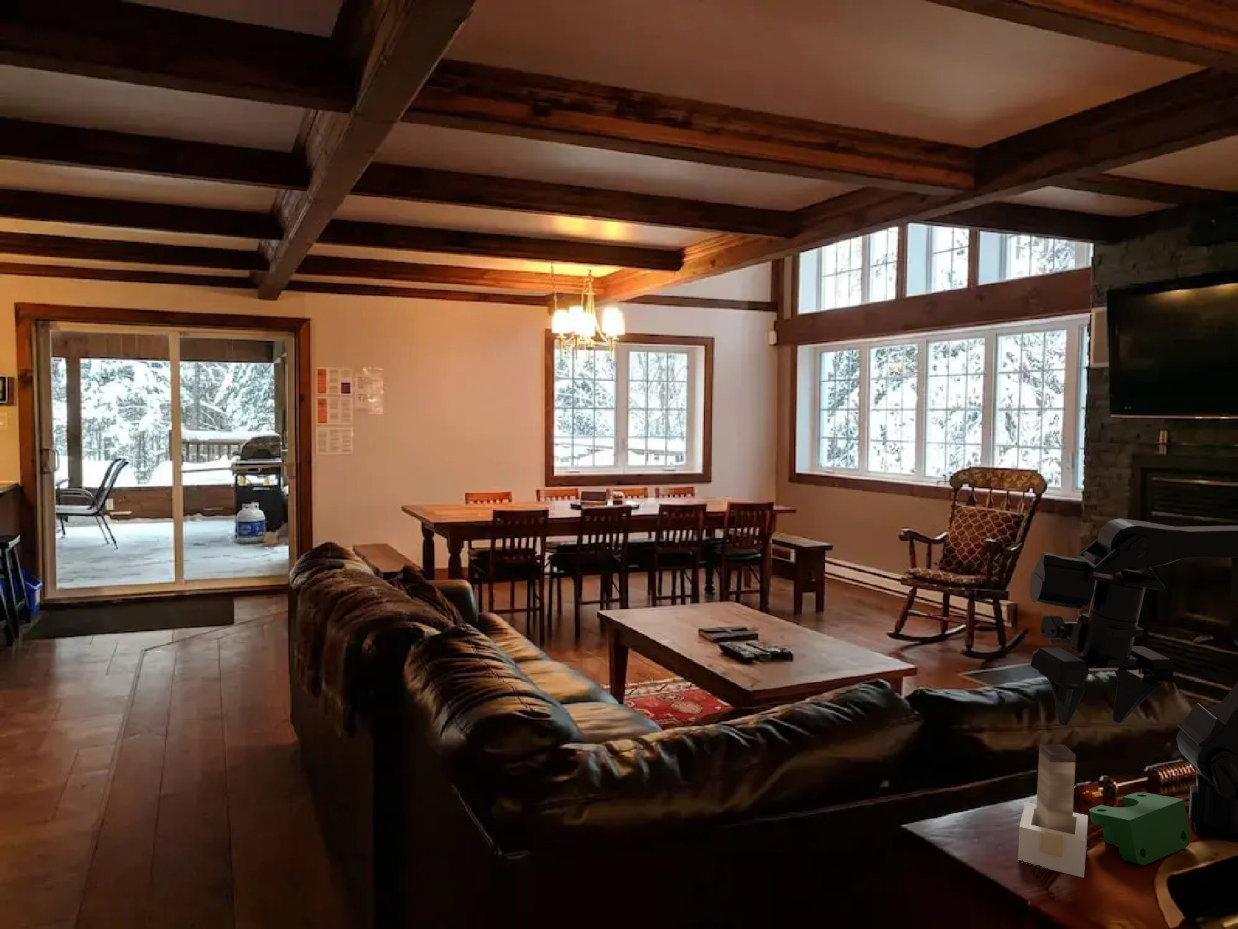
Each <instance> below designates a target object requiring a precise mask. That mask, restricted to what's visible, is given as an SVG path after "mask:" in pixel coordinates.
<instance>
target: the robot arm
mask: <svg viewBox="0 0 1238 929" xmlns="http://www.w3.org/2000/svg"><path fill="white" fill-rule="evenodd" d="M1234 558H1235V559H1237V558H1238V525H1207V526H1206V525H1205V526H1203V525H1201V526H1198V525H1197V526H1175V525H1174V526H1173V525H1166V524H1161V523H1157V522H1156V523H1154V522H1149V521H1142V520H1136V519H1135V520H1134V519H1129V518H1116V519H1115V518H1114V519H1111V520H1109V521H1107V522H1106V523H1105V524H1104V525H1103V526H1102V527H1101V529H1100V530H1099V533H1098V536H1097V538H1096V539H1094V540H1093V541H1092V542H1091V543H1090V544H1089V545H1088V546H1086V547H1085V548H1084V549H1083V550H1082V551H1080V552H1079V553H1078V555H1076V557H1071V556H1069V557H1067V556H1062V555H1057V554H1054V553H1051V552H1045V551H1042V552H1040V556H1039V560H1038V561H1037V562H1036V563H1035V566H1034V569H1033V571H1031V574H1030V579H1029V594H1030V595H1029V596H1030V600H1031V601H1032V602H1033V603H1035V604H1044V605H1049V606H1050V605H1051V606H1057V607H1063V608H1067V609H1076V610H1081V608H1082V607H1083V606H1086V607H1087V606H1088V605H1089V603H1090V605H1089V610H1088V613H1080V614H1079V616H1078V618H1077V621H1064V619H1063V616H1061V615H1043V617H1042V620H1041V622H1040V635H1041V636H1042V638H1043V639H1049V644H1050V645H1051V646H1052V645H1053V646H1055V645H1057V644H1061V645H1069V647H1068V649H1070V651H1073V652H1076V653H1077V652H1078V653H1080V656H1076V655H1074V654H1073V653H1071V652H1069V651H1067V650H1066V649H1063V648H1062V647H1038V648H1037V649H1035V650H1034V651H1033V652H1032V655H1031V660H1030V667H1031V668H1033V669H1035V670H1036V671H1037V672H1038V674H1040V675H1042V676H1043V677H1044V678H1046V679H1047V680H1048V682H1049V684H1050V687H1051V690H1052V694H1053V699H1054V703H1055V711H1056V715H1057V720H1058V721H1057V722H1058V723H1059V724H1060V725H1061V726H1063V727H1066V726H1068V725H1069V723H1070V721H1071V720H1072V718H1073V716H1074V714H1075V711H1076V709H1077V707H1078V706H1079V704H1080V702H1081V700H1082V698H1083V696H1084V693H1085V692H1086V690H1087V685H1086V684H1084V682H1085V681H1086V680H1087V679H1088V678H1089V672H1108V671H1109V672H1111V671H1112V672H1113V671H1114V675H1116V679H1117V686H1116V692H1115V693H1116V694H1115V697H1114V704H1113V705H1114V706H1113V712H1112V713H1113V714H1112V719H1113V721H1114V722H1115V723H1117V724H1122V723H1124V721H1125V720H1126V719H1127V718H1128V717H1129V716H1130V715H1131V714H1132V713H1133V711H1135V710H1136V708H1138V707H1139V705H1141V704H1142V702H1144V701H1145V700H1146V699H1147V698H1148V697H1149V696H1150V695H1151V694H1152V693H1154V692H1156V690H1157V689H1158V688H1159V687H1160V688H1162V687H1163V686H1164V682H1172V680H1173V676H1174V672H1175V666H1174V664H1173V662H1172V660H1171V659H1170V658H1169V657H1166V656H1165V655H1163V654H1160V653H1159V652H1156V651H1154V650H1152V649H1150V648H1148V647H1146V646H1143V645H1140V646H1138V645H1135V646H1133V645H1134V641H1135V638H1143V636H1144V632H1145V629H1144V628H1142V627H1139V626H1138V623H1139V618H1140V613H1141V610H1142V605H1143V601H1144V596H1145V591H1146V589H1151V590H1156V591H1157V590H1158V591H1163V590H1165V589H1166V586H1165V584H1164V583H1163V582H1161V581H1160V579H1159V578H1158V576H1157V575H1156V572H1155V570H1154V569H1152V568H1155V567H1161V566H1166V565H1169V564H1172V563H1175V562H1177V561H1181V560H1187V559H1234ZM1177 727H1178V728H1180V729H1179V731H1178V733H1177V735H1176V741H1177V742H1176V743H1177V747H1178V750H1179V751H1180V753H1181V755H1182V756H1184V757H1185V758H1186V759H1187V761H1189V763H1190V765H1191V768H1192V769H1193V770H1194V771H1196V772H1197V774H1196V780H1195V784H1191V785H1190V788H1189V789H1190V791H1189V803H1188V804H1189V805H1188V806H1189V807H1188V815H1189V816H1188V817H1189V821H1190V822H1191V823H1193V827H1194V833H1197V834H1199V835H1204V836H1209V837H1213V838H1218V839H1222V840H1228V841H1233V842H1237V843H1238V681H1236V683H1235V684H1234V686H1232V688H1231V690H1230V691H1229V692H1228V693H1227V695H1226V696H1225V697H1224V699H1222V700H1221V701H1220V702H1219V703H1216V704H1214V705H1211V706H1210V707H1207V708H1205V707H1204V706H1203V705H1202V704H1200V703H1199V702H1197V703H1195V704H1194V705H1193V706H1192V708H1191V709H1190V711H1189V713H1188V715H1187V717H1185V718H1184V719H1183V720H1182V721H1180V722H1179V723H1177Z"/></svg>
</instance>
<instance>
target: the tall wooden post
mask: <svg viewBox="0 0 1238 929" xmlns="http://www.w3.org/2000/svg"><path fill="white" fill-rule="evenodd" d="M1038 746H1039V748H1038V768H1037V769H1038V770H1037V772H1038V773H1037V788H1036V789H1037V790H1036V791H1037V792H1036V804H1037V811H1036V826H1039V827H1043V828H1048V829H1052V830H1056V831H1061V832H1065V833H1069V834H1072V819H1073V812H1074V795H1075V794H1074V793H1075V777H1076V776H1075V775H1076V774H1075V773H1076V756H1077V755H1076V753H1074V752H1073V751H1072V750H1071V749H1070V748H1069V747H1067V746H1066V745H1065V744H1064V743H1063V744H1062V743H1060V744H1059V743H1047V744H1046V743H1041V744H1040V743H1039V745H1038Z"/></svg>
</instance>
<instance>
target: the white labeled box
mask: <svg viewBox="0 0 1238 929" xmlns="http://www.w3.org/2000/svg"><path fill="white" fill-rule="evenodd" d="M1036 811H1037V803H1032V802H1027V801H1025V802H1024V806H1023V810H1022V814H1021V819H1020V823H1019V826H1018V827H1019V832H1018V851H1017V852H1018V854H1017V861H1018V860H1023V861H1024V862H1028V863H1031V864H1034V865H1033V866H1035V865H1040V866H1042V867H1041V868H1043V867H1045V868H1044V869H1047V868H1048V869H1047V870H1051V871H1054V872H1059V873H1064V874H1066V875H1072V876H1075V877H1079V878H1085V870H1086V869H1085V868H1086V859H1087V858H1086V856H1087V843H1088V842H1087V841H1088V840H1087V839H1088V825H1089V823H1088V822H1089V816H1088V815H1087V814H1082V813H1078V812H1074V811H1073V819H1072V834H1069V833H1065V832H1061V831H1056V830H1052V829H1048V828H1043V827H1039V826H1036ZM1031 864H1030V865H1031Z"/></svg>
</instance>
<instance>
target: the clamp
mask: <svg viewBox="0 0 1238 929" xmlns="http://www.w3.org/2000/svg"><path fill="white" fill-rule="evenodd" d="M1122 799H1123V801H1122V802H1123V806H1124V807H1117V806H1116V807H1115V806H1107V805H1103V804H1099V805H1097V806H1094V807H1091V808H1089V810H1088V812H1089V815H1090V816H1089V817H1090V822H1091V823H1092V824H1094V825H1098V826H1101V828H1102V834H1103V839H1104V842H1105V843H1107V844H1110V845H1113V846H1117V847H1118V851H1119V854H1120V857H1121V858H1122V860H1123V861H1126V862H1129V863H1133V864H1137V865H1141V866H1145V865H1149V864H1151V863H1153V862H1155V861H1157V860H1160V859H1162V858H1164V857H1167V856H1169V855H1171V854H1174V853H1176V852H1178V851H1181V850H1184V849H1187V848H1188V846H1189V845H1190V843H1191V837H1192V836H1191V830H1190V826H1189V820H1188V815H1187V810H1186V805H1185V804H1186V803H1185V799H1183V798H1179V797H1178V798H1176V797H1171V796H1167V795H1166V796H1165V795H1160V794H1155V793H1149V792H1134V793H1130V794H1127V795H1125V796H1122Z"/></svg>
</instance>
